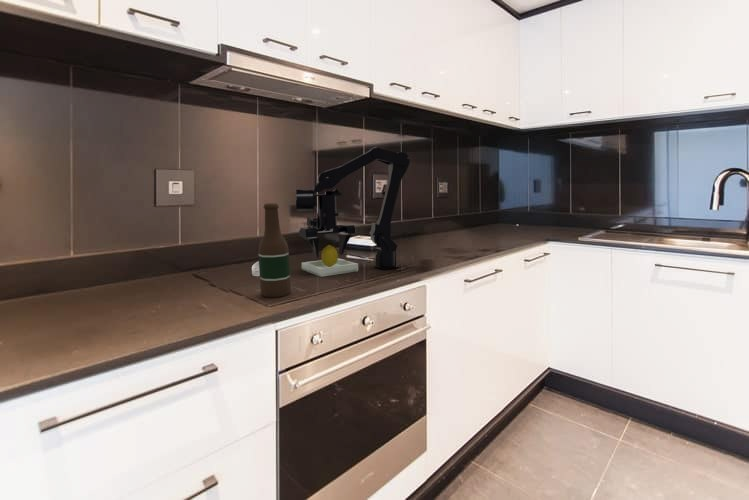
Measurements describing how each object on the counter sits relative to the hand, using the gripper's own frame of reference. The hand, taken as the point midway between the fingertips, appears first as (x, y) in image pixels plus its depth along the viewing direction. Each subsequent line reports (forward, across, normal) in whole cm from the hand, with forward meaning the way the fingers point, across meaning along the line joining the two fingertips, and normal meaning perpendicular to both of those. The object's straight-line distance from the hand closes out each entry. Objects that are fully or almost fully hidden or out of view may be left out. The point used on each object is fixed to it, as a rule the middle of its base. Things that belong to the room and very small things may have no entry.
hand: (329, 256), depth 137 cm
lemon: (+4, 0, 0) cm, 4 cm away
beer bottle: (+5, +26, +18) cm, 32 cm away
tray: (+5, 0, 0) cm, 5 cm away
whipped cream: (+5, +20, -9) cm, 23 cm away
